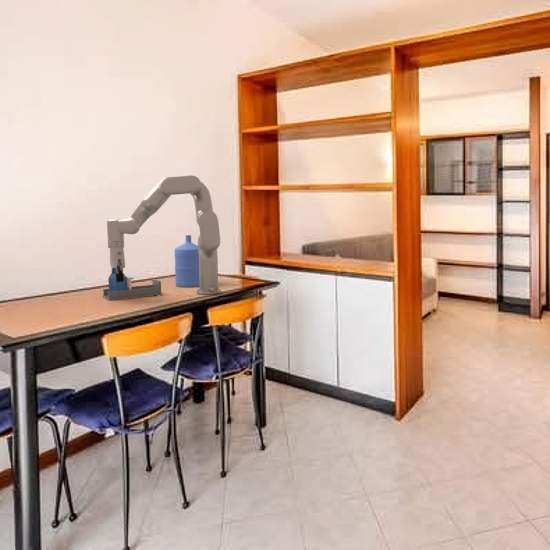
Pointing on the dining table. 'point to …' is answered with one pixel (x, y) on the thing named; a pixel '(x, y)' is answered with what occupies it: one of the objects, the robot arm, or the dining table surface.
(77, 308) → the dining table surface
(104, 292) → the tray
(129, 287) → the pusher
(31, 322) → the dining table surface
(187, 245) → the water jug
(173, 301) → the dining table surface
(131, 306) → the dining table surface
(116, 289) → the perfume bottle
